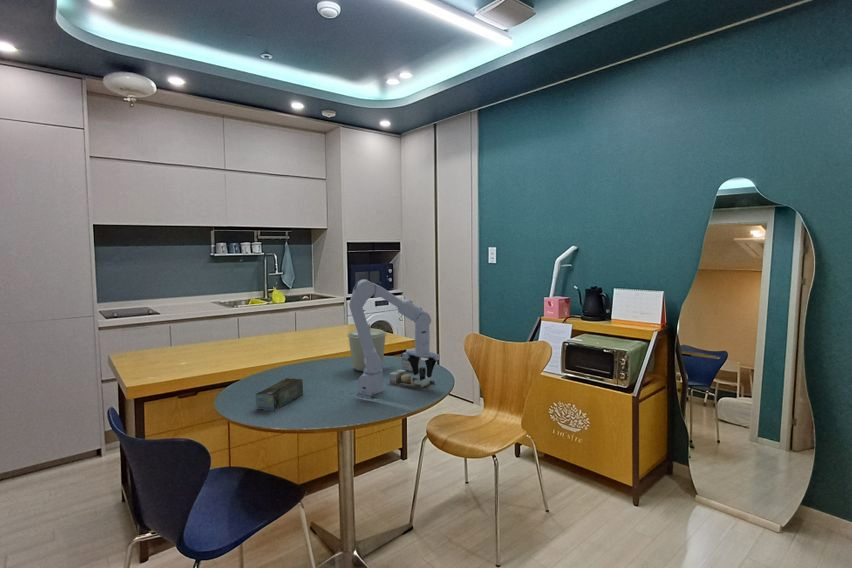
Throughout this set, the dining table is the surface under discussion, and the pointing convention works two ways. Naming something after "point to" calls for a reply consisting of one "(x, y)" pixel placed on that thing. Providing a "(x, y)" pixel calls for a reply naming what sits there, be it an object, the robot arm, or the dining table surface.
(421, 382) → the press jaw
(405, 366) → the medicine box
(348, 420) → the dining table surface
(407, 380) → the potato
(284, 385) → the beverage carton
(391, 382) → the base
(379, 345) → the canister
